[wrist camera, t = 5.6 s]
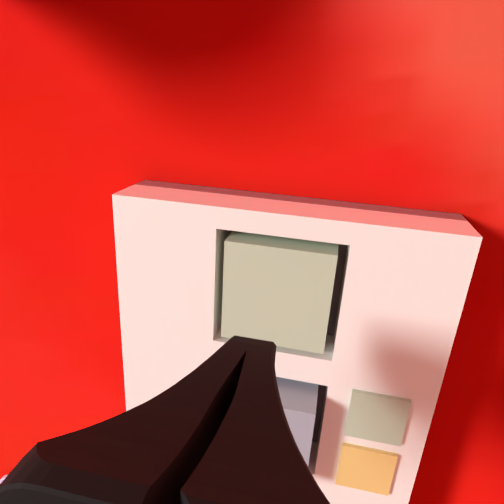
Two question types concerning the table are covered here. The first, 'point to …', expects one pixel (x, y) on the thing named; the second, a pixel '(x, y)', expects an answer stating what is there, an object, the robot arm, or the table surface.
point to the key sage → (278, 289)
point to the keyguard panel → (339, 324)
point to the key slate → (299, 411)
